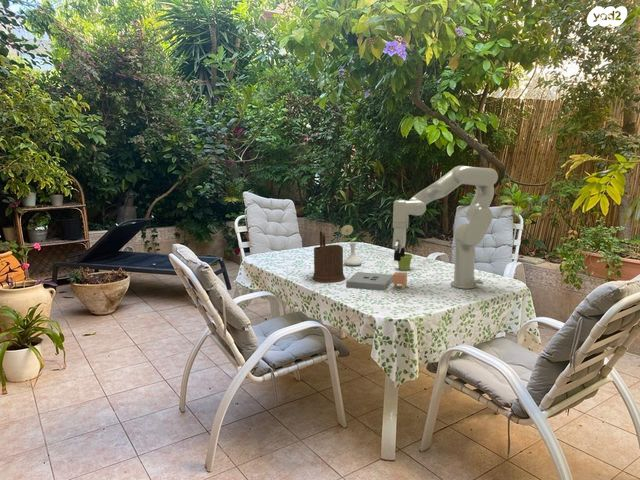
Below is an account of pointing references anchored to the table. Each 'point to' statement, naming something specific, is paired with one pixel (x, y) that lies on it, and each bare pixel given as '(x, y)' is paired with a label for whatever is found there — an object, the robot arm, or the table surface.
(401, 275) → the plug
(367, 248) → the table surface
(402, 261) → the plant pot
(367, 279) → the socket
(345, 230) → the flower in vase
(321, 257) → the brown cylinder
